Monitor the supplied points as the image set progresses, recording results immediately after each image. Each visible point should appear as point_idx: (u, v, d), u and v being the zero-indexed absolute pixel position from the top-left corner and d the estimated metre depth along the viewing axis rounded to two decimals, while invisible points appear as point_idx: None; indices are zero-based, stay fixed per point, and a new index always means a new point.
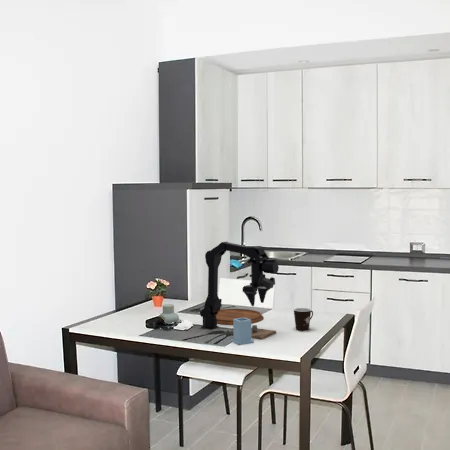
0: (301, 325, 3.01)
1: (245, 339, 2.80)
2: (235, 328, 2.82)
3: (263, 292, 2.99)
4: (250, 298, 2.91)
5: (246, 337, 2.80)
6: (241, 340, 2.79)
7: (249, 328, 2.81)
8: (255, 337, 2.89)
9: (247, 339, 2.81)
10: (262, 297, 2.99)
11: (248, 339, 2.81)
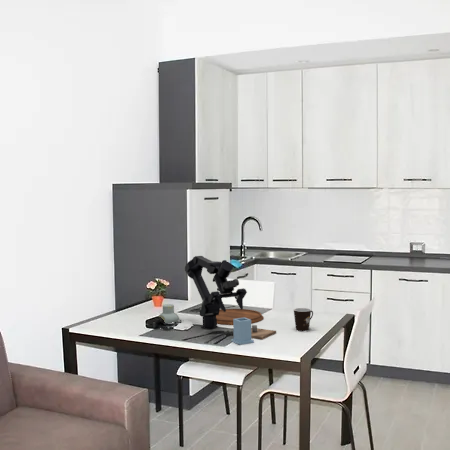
0: (301, 325, 3.01)
1: (245, 339, 2.80)
2: (235, 328, 2.82)
3: (239, 299, 2.94)
4: (219, 305, 2.89)
5: (246, 337, 2.80)
6: (241, 340, 2.79)
7: (249, 328, 2.81)
8: (255, 337, 2.89)
9: (247, 339, 2.81)
10: (240, 304, 2.93)
11: (248, 339, 2.81)
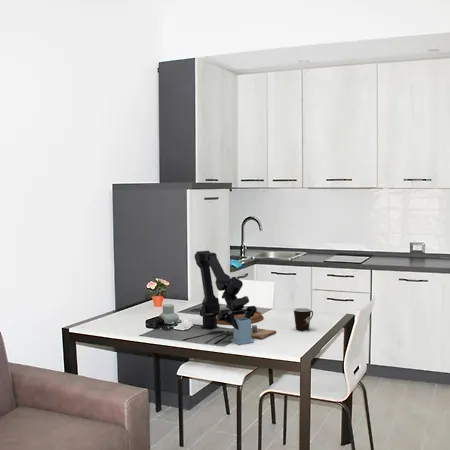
0: (301, 325, 3.01)
1: (245, 339, 2.80)
2: None
3: (246, 317, 2.86)
4: (232, 323, 2.82)
5: (246, 337, 2.80)
6: (241, 340, 2.79)
7: (249, 328, 2.81)
8: (255, 337, 2.89)
9: (247, 339, 2.81)
10: None
11: (248, 339, 2.81)
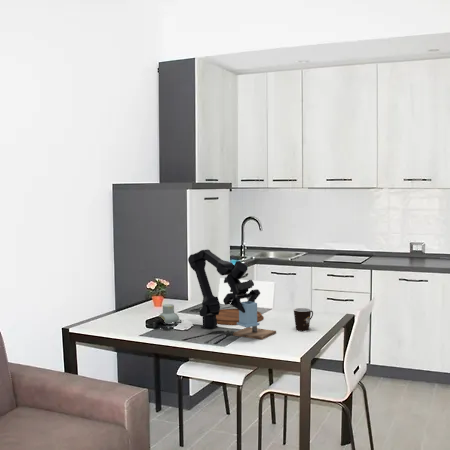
0: (301, 325, 3.01)
1: (251, 322, 2.84)
2: None
3: (251, 300, 2.90)
4: (238, 306, 2.85)
5: (252, 320, 2.85)
6: (248, 323, 2.83)
7: (255, 311, 2.85)
8: (255, 337, 2.89)
9: (253, 322, 2.85)
10: None
11: (254, 322, 2.85)
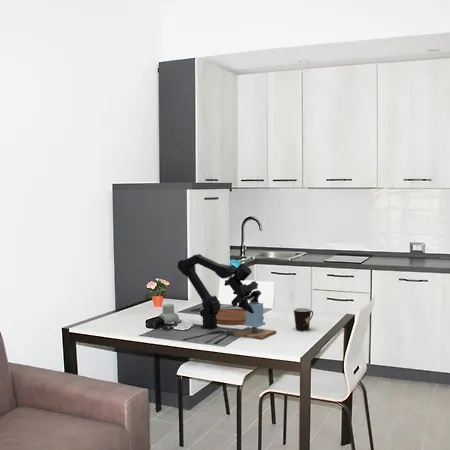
0: (301, 325, 3.01)
1: (259, 322, 2.95)
2: (249, 312, 2.94)
3: (255, 301, 3.00)
4: (246, 307, 2.93)
5: (260, 320, 2.95)
6: (257, 323, 2.93)
7: (261, 311, 2.96)
8: (255, 337, 2.89)
9: (260, 321, 2.95)
10: None
11: (261, 321, 2.96)
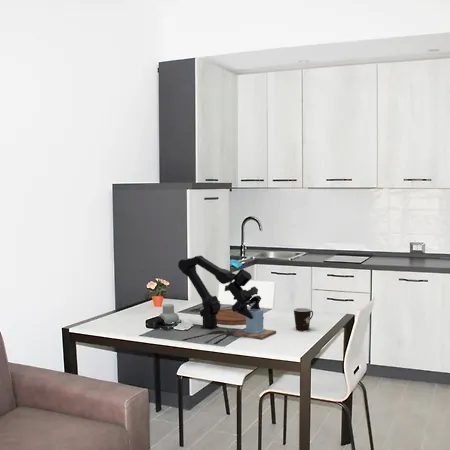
0: (301, 325, 3.01)
1: (259, 329, 2.95)
2: (249, 319, 2.95)
3: (256, 306, 3.00)
4: (245, 313, 2.93)
5: (260, 327, 2.95)
6: (257, 330, 2.93)
7: (262, 318, 2.96)
8: (255, 337, 2.89)
9: (260, 328, 2.96)
10: None
11: (261, 328, 2.96)
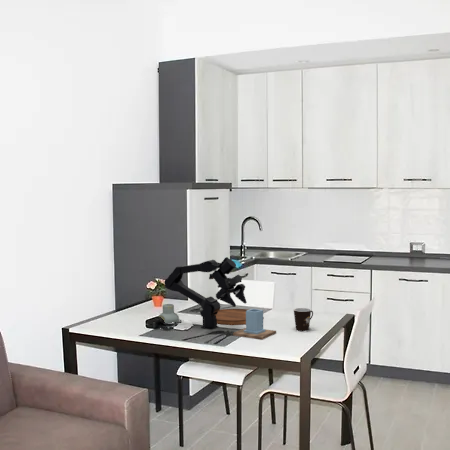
0: (301, 325, 3.01)
1: (259, 329, 2.95)
2: (249, 319, 2.95)
3: (240, 294, 3.06)
4: (228, 301, 2.98)
5: (260, 327, 2.95)
6: (257, 330, 2.93)
7: (262, 318, 2.96)
8: (255, 337, 2.89)
9: (260, 328, 2.96)
10: (242, 298, 3.05)
11: (261, 328, 2.96)
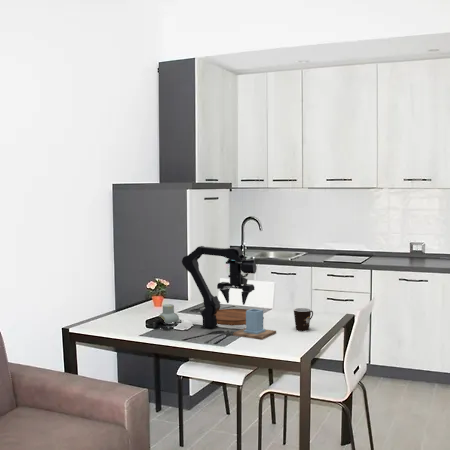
0: (301, 325, 3.01)
1: (259, 329, 2.95)
2: (249, 319, 2.95)
3: (228, 292, 3.09)
4: (245, 297, 3.02)
5: (260, 327, 2.95)
6: (257, 330, 2.93)
7: (262, 318, 2.96)
8: (255, 337, 2.89)
9: (260, 328, 2.96)
10: (228, 297, 3.09)
11: (261, 328, 2.96)
